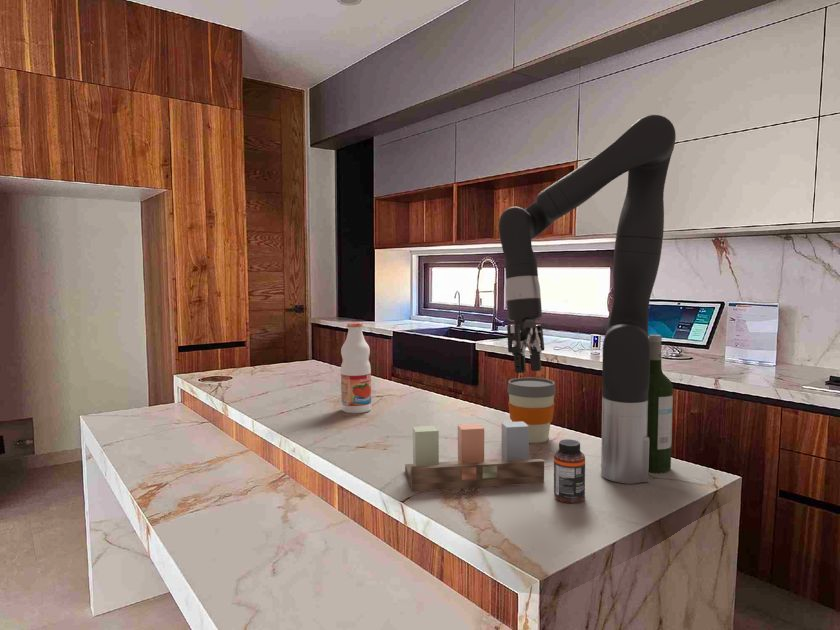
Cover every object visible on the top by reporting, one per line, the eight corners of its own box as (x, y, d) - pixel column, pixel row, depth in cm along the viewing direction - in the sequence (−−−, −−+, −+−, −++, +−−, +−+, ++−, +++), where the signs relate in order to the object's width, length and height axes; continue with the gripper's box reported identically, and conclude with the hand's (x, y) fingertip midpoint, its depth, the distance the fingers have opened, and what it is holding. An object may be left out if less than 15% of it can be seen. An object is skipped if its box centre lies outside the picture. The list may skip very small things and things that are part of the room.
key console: (525, 463, 133) (525, 443, 132) (544, 483, 121) (544, 461, 120) (405, 470, 129) (405, 450, 128) (412, 491, 117) (412, 469, 116)
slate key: (522, 460, 130) (523, 421, 129) (528, 466, 126) (529, 426, 125) (501, 461, 129) (501, 422, 128) (506, 467, 125) (506, 427, 124)
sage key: (435, 465, 127) (435, 425, 126) (438, 471, 123) (438, 430, 122) (413, 466, 126) (412, 426, 126) (415, 473, 122) (415, 431, 122)
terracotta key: (479, 462, 128) (479, 423, 128) (484, 469, 125) (484, 428, 124) (457, 464, 128) (457, 424, 127) (461, 470, 124) (461, 429, 123)
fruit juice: (353, 405, 190) (351, 321, 187) (377, 408, 185) (375, 322, 183) (335, 411, 182) (333, 323, 179) (360, 415, 177) (358, 325, 175)
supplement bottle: (561, 489, 117) (562, 435, 116) (589, 497, 113) (590, 441, 112) (548, 499, 112) (548, 442, 112) (577, 507, 109) (577, 448, 108)
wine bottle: (639, 459, 135) (642, 332, 132) (675, 466, 130) (679, 334, 127) (627, 468, 129) (630, 335, 126) (664, 476, 124) (668, 338, 121)
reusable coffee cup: (555, 446, 145) (556, 387, 144) (505, 443, 148) (506, 386, 146) (554, 432, 157) (555, 378, 156) (508, 429, 160) (508, 376, 159)
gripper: (526, 294, 119) (531, 373, 118) (551, 298, 131) (556, 369, 130) (493, 298, 123) (498, 374, 122) (520, 301, 135) (525, 370, 134)
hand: (528, 371), depth 126 cm, fingers open, 8 cm apart
